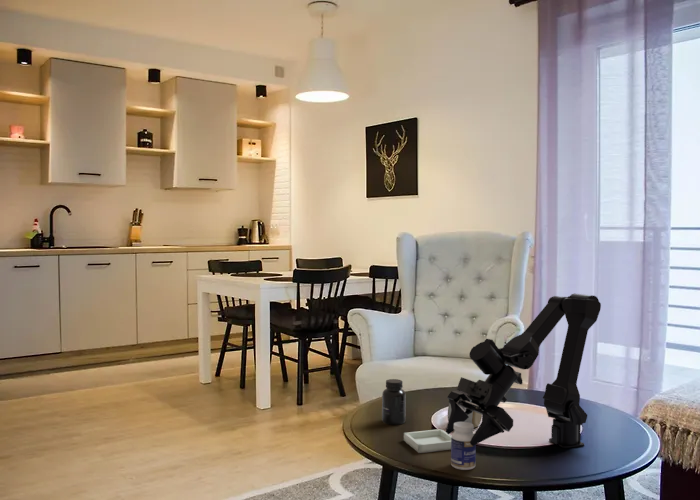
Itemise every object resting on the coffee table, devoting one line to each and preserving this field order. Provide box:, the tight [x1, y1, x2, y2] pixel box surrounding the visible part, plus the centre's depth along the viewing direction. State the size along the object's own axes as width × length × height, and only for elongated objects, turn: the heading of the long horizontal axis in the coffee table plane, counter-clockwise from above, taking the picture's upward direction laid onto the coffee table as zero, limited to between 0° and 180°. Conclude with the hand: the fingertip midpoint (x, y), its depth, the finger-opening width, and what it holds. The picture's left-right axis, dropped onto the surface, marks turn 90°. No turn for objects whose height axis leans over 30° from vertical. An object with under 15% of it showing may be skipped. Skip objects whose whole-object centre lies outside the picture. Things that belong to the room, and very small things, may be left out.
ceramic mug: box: [447, 402, 482, 429], centre depth 179 cm, size 11×8×8 cm
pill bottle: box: [450, 422, 477, 471], centre depth 147 cm, size 6×6×10 cm
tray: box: [403, 428, 452, 454], centre depth 162 cm, size 11×10×2 cm
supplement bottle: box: [381, 378, 407, 426], centre depth 182 cm, size 7×7×12 cm
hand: (458, 438), depth 147 cm, fingers open, 9 cm apart
